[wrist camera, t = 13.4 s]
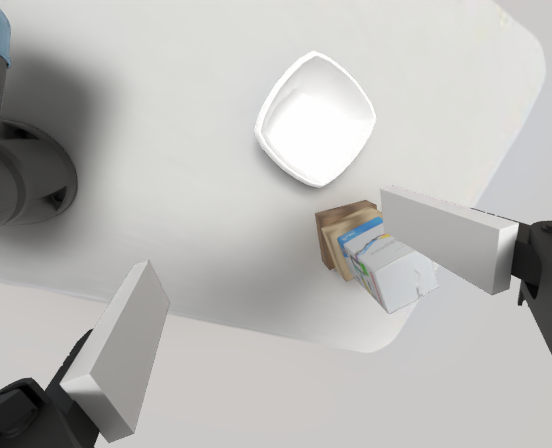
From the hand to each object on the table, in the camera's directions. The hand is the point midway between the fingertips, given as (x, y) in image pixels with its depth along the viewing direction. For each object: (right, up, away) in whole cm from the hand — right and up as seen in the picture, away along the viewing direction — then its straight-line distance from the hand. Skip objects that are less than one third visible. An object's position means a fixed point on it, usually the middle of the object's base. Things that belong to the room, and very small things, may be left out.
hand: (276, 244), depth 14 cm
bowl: (+4, +18, +31) cm, 36 cm away
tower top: (+15, -2, +36) cm, 39 cm away
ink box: (+16, -3, +32) cm, 35 cm away
